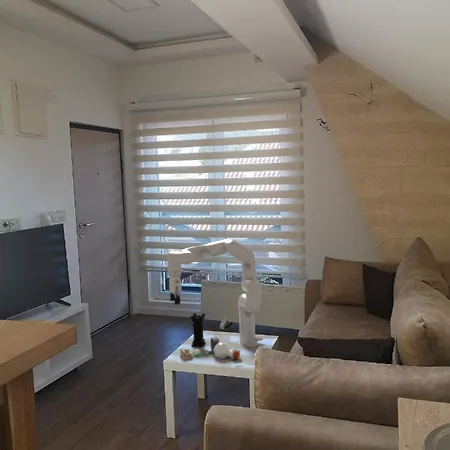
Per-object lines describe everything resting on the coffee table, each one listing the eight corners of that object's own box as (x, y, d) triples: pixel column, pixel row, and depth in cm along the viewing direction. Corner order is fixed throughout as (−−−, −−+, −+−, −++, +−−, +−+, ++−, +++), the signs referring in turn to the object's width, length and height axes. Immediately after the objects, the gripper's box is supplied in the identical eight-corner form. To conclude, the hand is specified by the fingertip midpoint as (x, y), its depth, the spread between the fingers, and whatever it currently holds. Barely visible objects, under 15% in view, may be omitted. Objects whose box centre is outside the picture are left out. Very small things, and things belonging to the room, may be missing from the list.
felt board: (219, 351, 280) (219, 349, 280) (223, 355, 273) (223, 353, 273) (180, 357, 272) (180, 355, 272) (183, 361, 265) (183, 359, 264)
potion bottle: (214, 358, 272) (237, 366, 265) (208, 353, 264) (231, 361, 258) (220, 343, 276) (243, 350, 269) (214, 338, 268) (237, 344, 261)
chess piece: (203, 349, 284) (202, 316, 282) (190, 348, 286) (189, 316, 284) (206, 345, 292) (205, 313, 290) (194, 344, 293) (193, 312, 292)
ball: (199, 353, 273) (199, 347, 273) (201, 355, 270) (200, 349, 270) (193, 354, 272) (193, 348, 272) (195, 356, 269) (194, 350, 269)
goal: (188, 353, 274) (188, 347, 273) (192, 358, 266) (192, 351, 266) (180, 355, 272) (180, 348, 271) (184, 359, 264) (183, 352, 264)
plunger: (216, 350, 278) (216, 336, 277) (219, 352, 273) (219, 339, 273) (203, 352, 275) (202, 338, 274) (205, 354, 271) (205, 341, 270)
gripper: (184, 275, 265) (185, 305, 266) (176, 270, 281) (177, 298, 283) (171, 276, 262) (172, 306, 264) (164, 271, 279) (165, 299, 280)
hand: (175, 302), depth 273 cm, fingers open, 9 cm apart
